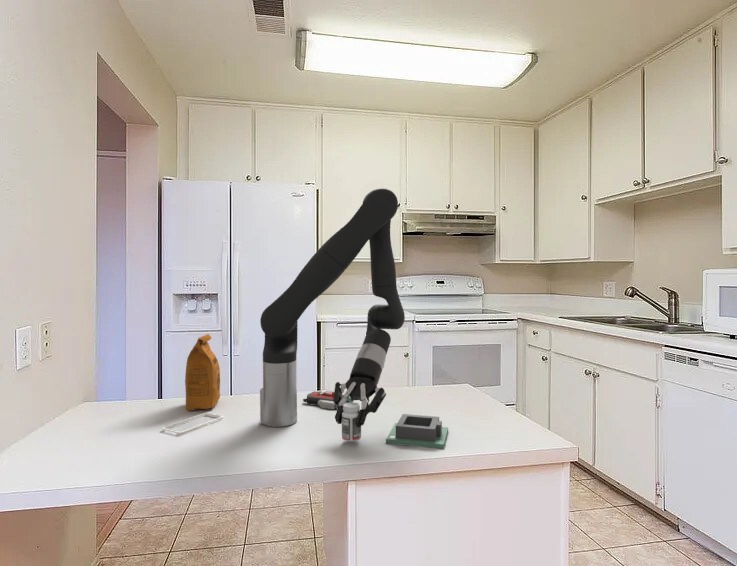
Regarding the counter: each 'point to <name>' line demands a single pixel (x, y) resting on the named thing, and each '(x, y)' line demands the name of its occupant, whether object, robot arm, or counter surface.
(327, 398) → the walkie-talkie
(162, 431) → the phone case
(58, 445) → the counter surface
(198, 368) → the coffee package
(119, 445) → the counter surface
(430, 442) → the socket board
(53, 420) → the counter surface
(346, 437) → the pill bottle
